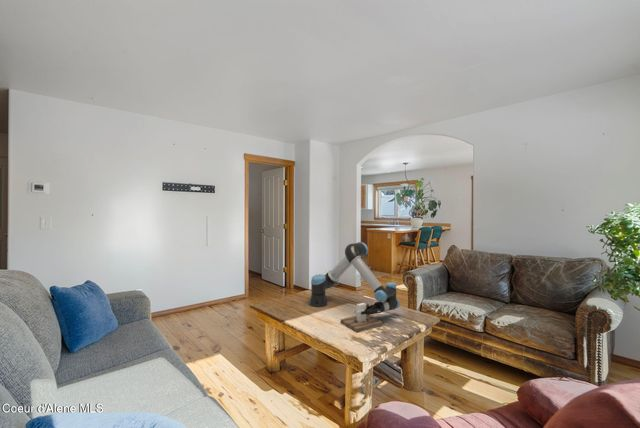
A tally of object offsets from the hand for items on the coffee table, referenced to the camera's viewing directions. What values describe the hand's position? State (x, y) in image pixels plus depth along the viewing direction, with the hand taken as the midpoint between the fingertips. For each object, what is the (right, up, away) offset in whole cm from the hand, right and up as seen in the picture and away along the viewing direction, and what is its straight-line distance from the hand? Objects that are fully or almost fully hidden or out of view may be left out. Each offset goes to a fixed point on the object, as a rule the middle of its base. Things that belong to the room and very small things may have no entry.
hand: (355, 312), depth 194 cm
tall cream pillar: (+5, -7, +3) cm, 9 cm away
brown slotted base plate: (+5, -9, +3) cm, 10 cm away
